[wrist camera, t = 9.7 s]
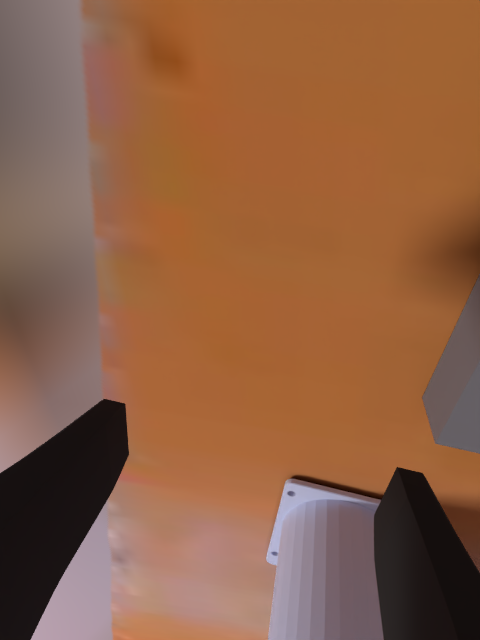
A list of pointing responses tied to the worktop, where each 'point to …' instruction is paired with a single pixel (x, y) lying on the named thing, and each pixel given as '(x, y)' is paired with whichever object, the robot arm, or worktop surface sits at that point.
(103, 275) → the worktop surface
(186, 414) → the worktop surface
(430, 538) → the robot arm
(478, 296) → the power strip
